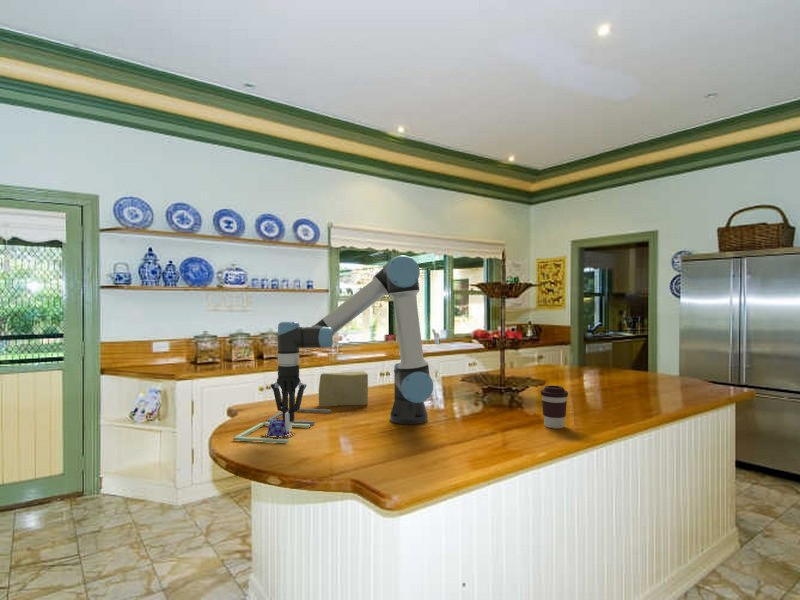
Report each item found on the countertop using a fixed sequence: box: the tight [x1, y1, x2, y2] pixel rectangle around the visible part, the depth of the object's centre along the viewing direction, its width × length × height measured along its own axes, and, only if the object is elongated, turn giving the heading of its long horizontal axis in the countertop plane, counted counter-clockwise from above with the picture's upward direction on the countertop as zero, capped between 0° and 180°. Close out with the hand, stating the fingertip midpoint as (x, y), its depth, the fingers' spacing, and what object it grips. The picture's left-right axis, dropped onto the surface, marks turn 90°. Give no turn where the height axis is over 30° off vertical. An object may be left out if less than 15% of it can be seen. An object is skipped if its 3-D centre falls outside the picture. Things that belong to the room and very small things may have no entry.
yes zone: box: [232, 421, 311, 444], centre depth 167 cm, size 20×21×1 cm
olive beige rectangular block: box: [318, 370, 369, 407], centre depth 214 cm, size 22×10×15 cm, turn 105°
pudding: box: [266, 418, 295, 438], centre depth 167 cm, size 12×12×5 cm
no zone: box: [265, 407, 332, 426], centre depth 191 cm, size 20×21×1 cm
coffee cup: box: [540, 385, 569, 430], centre depth 176 cm, size 10×10×15 cm
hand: (288, 430), depth 166 cm, fingers closed
